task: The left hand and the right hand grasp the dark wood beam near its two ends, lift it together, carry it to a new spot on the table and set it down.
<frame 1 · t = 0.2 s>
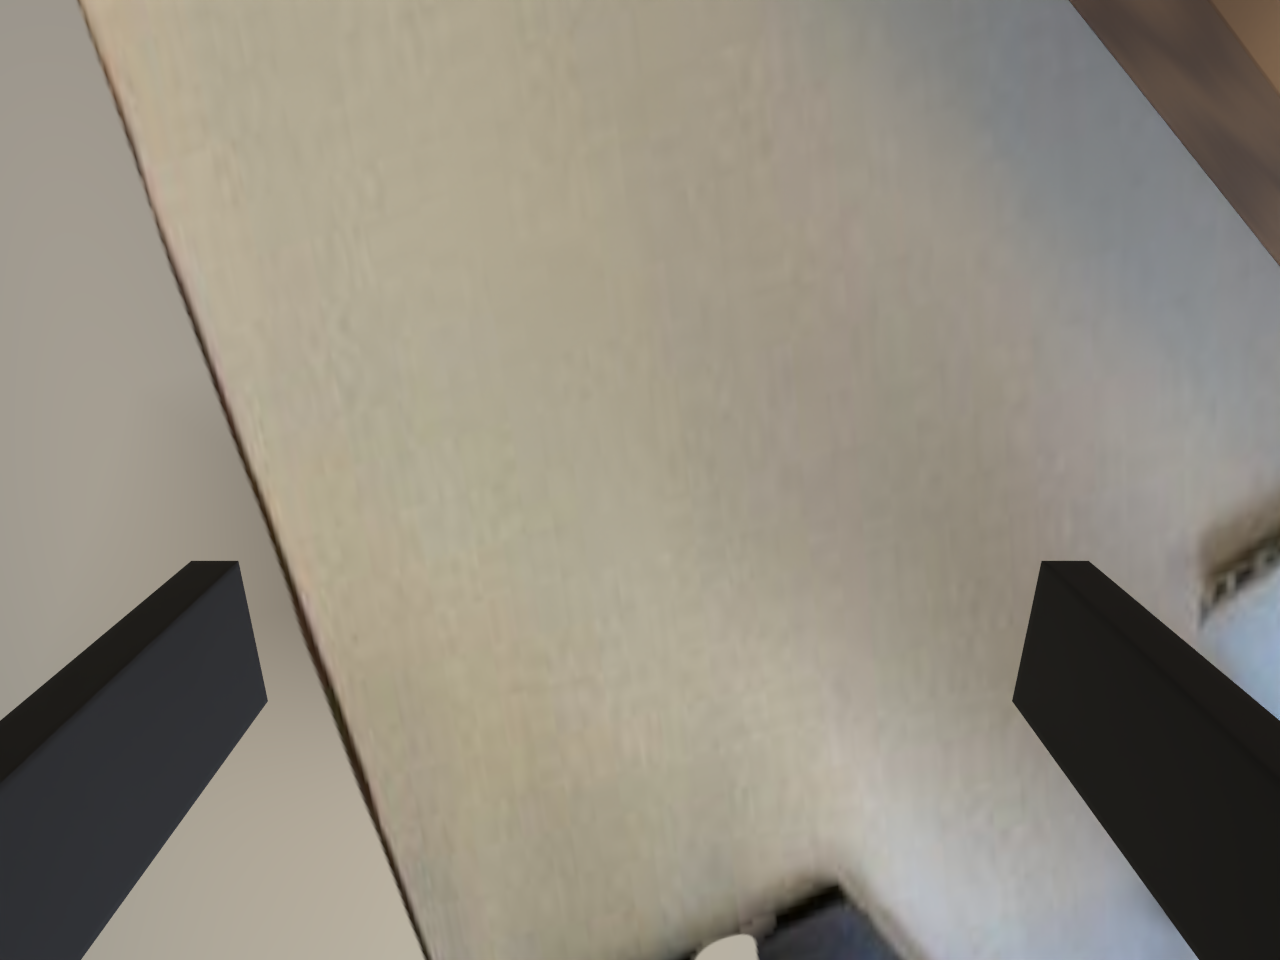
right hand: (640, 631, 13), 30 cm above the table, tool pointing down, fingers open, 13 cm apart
beam: (1260, 146, 37), on the table
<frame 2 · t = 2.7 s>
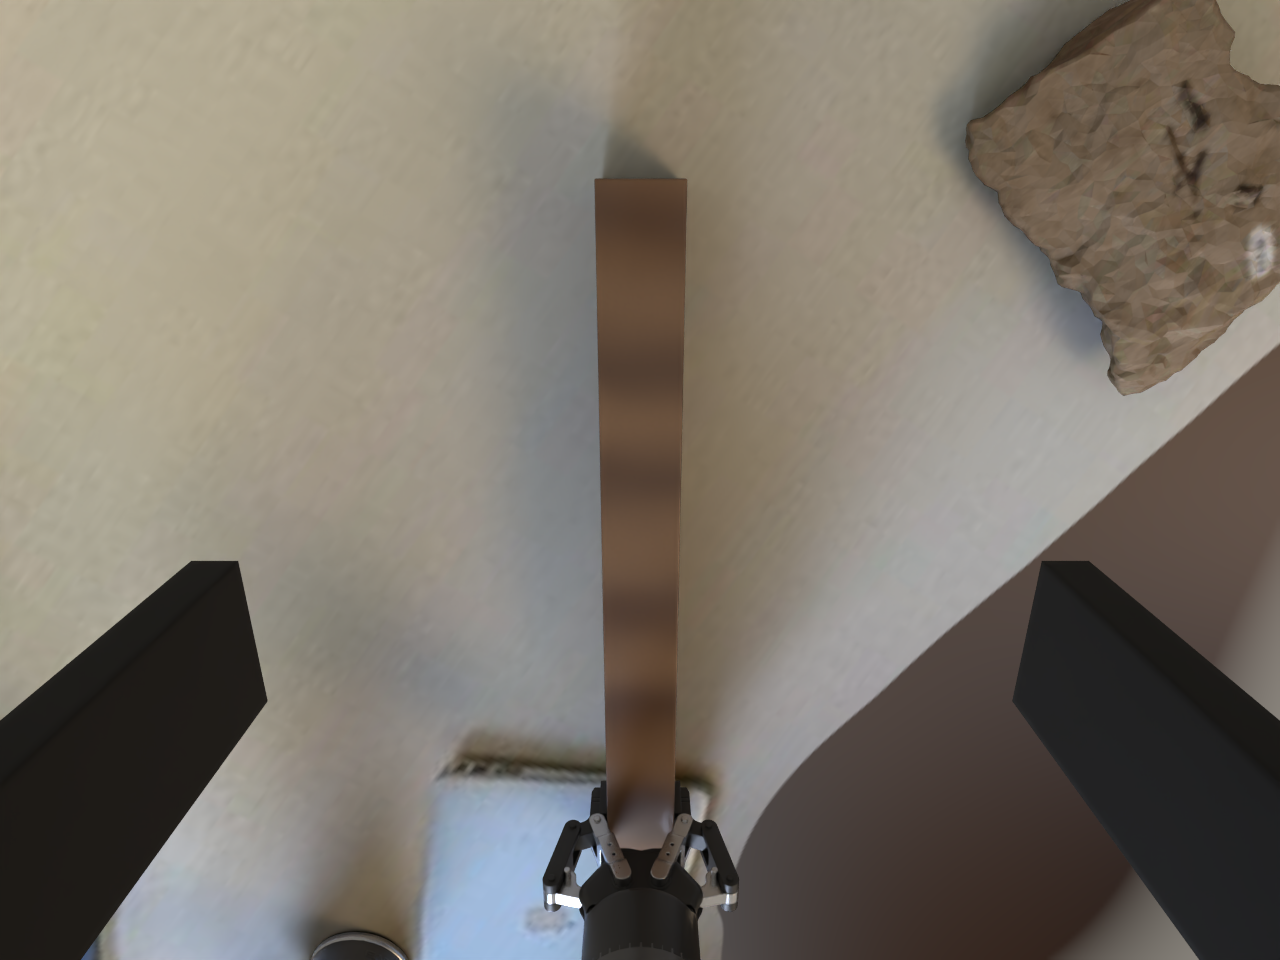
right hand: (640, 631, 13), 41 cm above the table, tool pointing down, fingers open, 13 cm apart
left hand: (640, 789, 62), fingers closed on beam, 5 cm apart
stone: (1119, 197, 49), on the table
beam: (640, 559, 58), on the table, touching left hand
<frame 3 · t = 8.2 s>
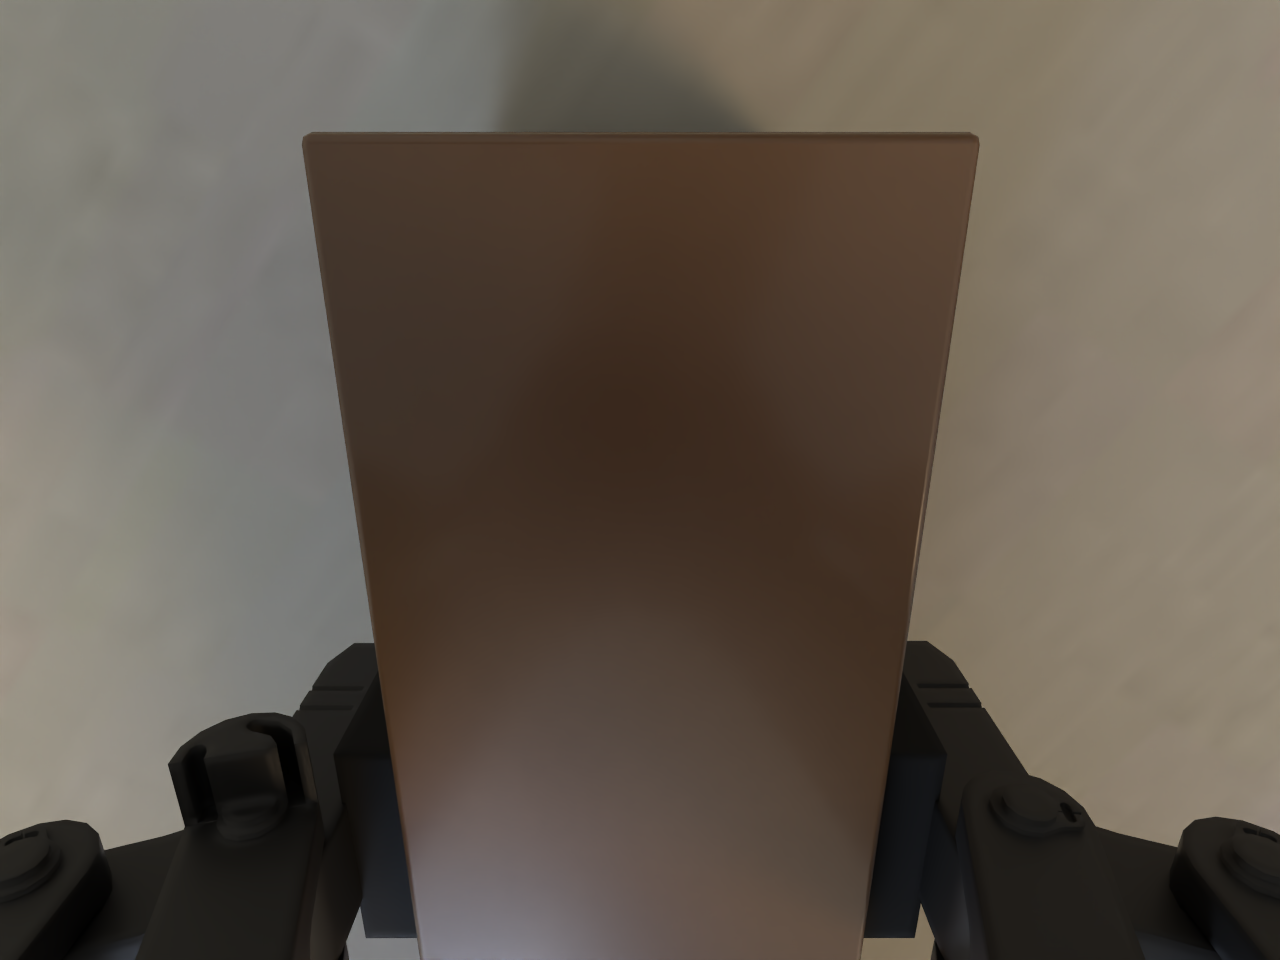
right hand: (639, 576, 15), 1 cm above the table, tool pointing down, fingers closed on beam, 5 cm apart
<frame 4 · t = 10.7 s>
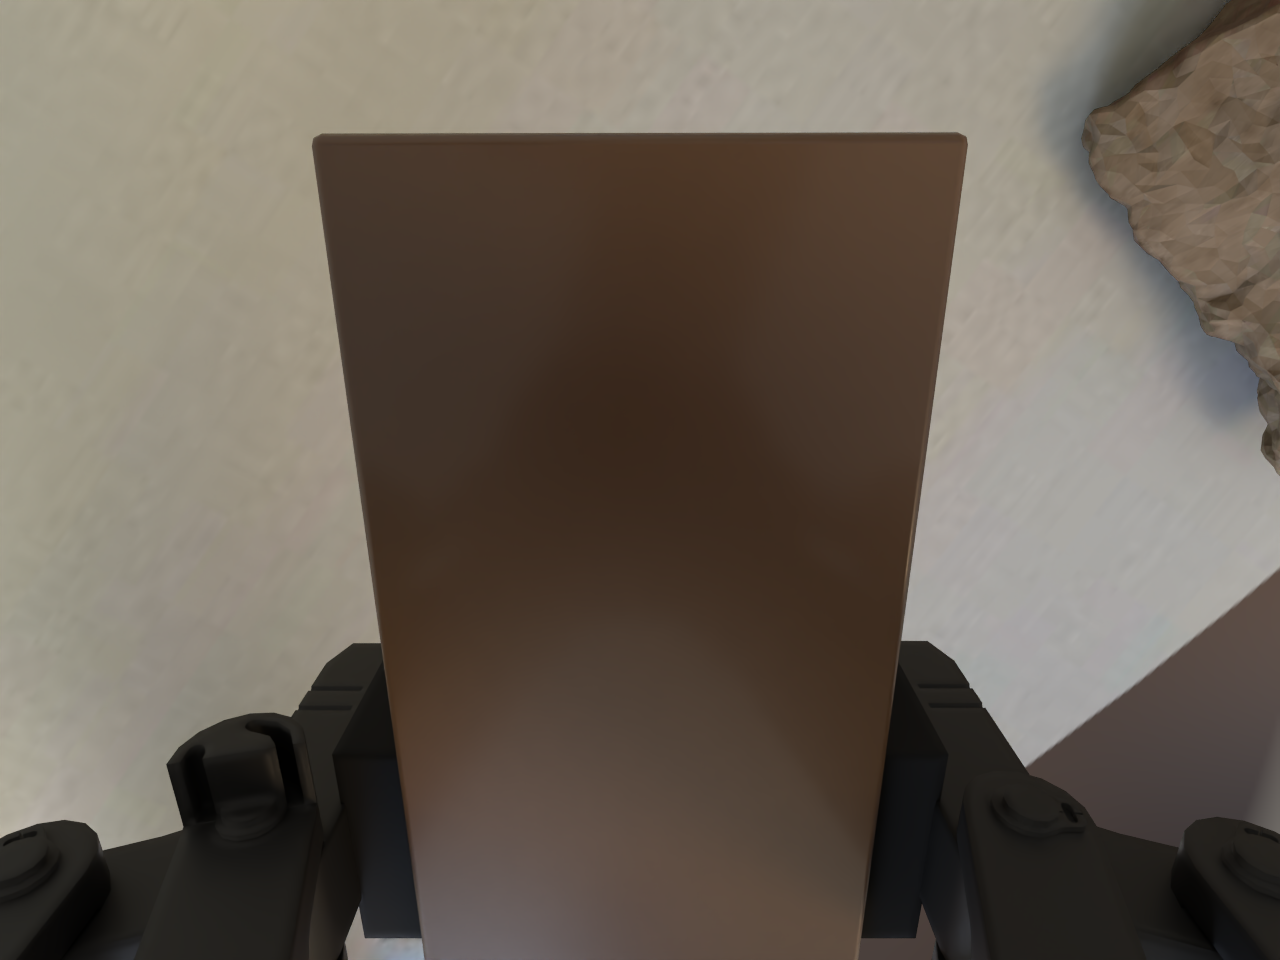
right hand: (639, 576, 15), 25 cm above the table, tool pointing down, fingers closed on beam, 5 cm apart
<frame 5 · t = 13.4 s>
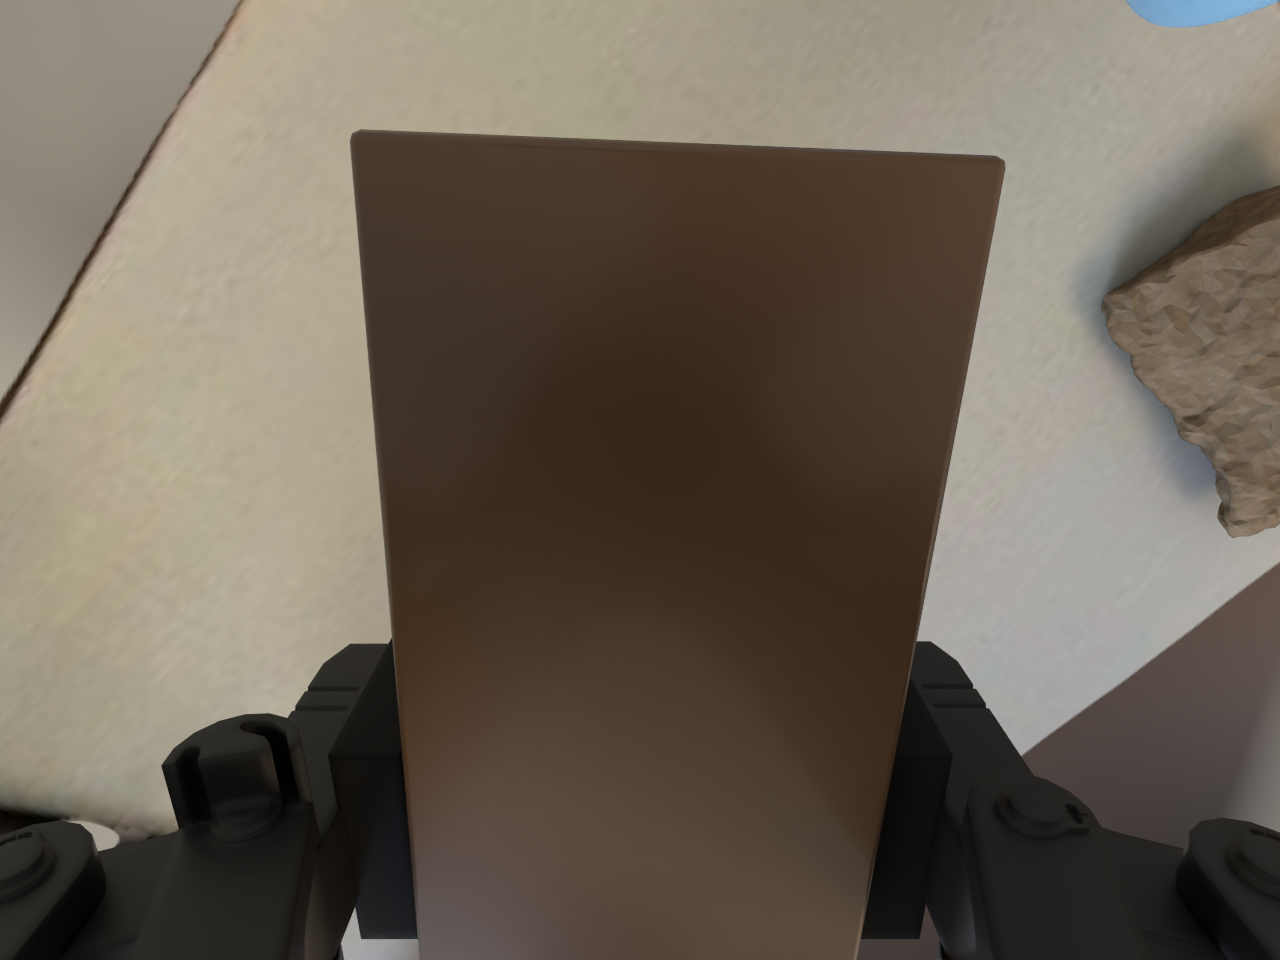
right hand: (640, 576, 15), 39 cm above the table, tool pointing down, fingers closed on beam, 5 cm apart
stone: (1237, 358, 52), on the table
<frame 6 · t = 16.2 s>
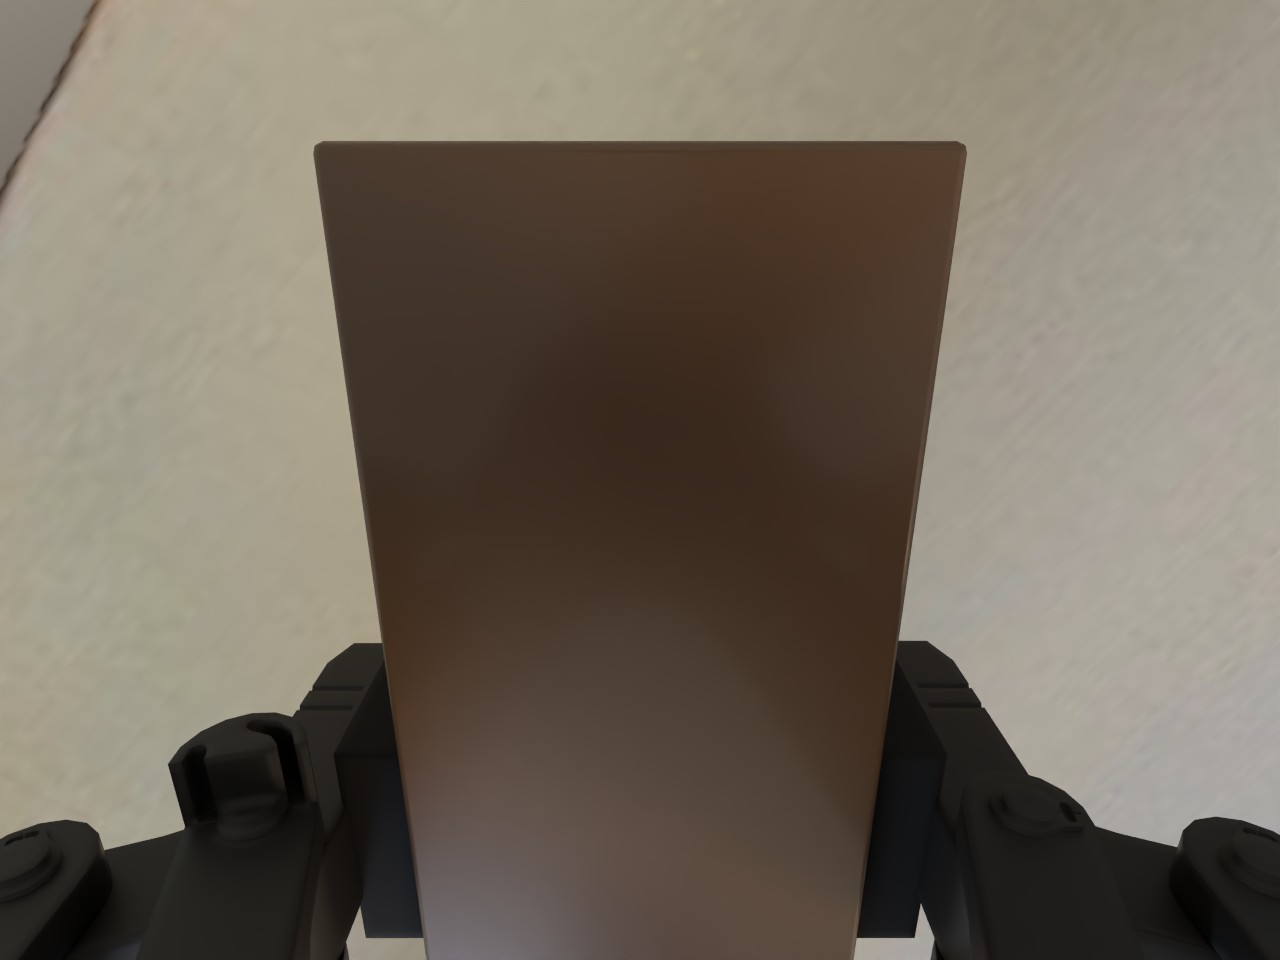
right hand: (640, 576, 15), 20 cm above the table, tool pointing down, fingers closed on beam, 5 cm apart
when the right hand's fingers open (2 cm above the table, at t = 18.6 s): beam drops 1 cm, on the table.
when the left hand's fingers open (4 cm above the table, at t = 18.8 s): beam stays where it is, on the table.
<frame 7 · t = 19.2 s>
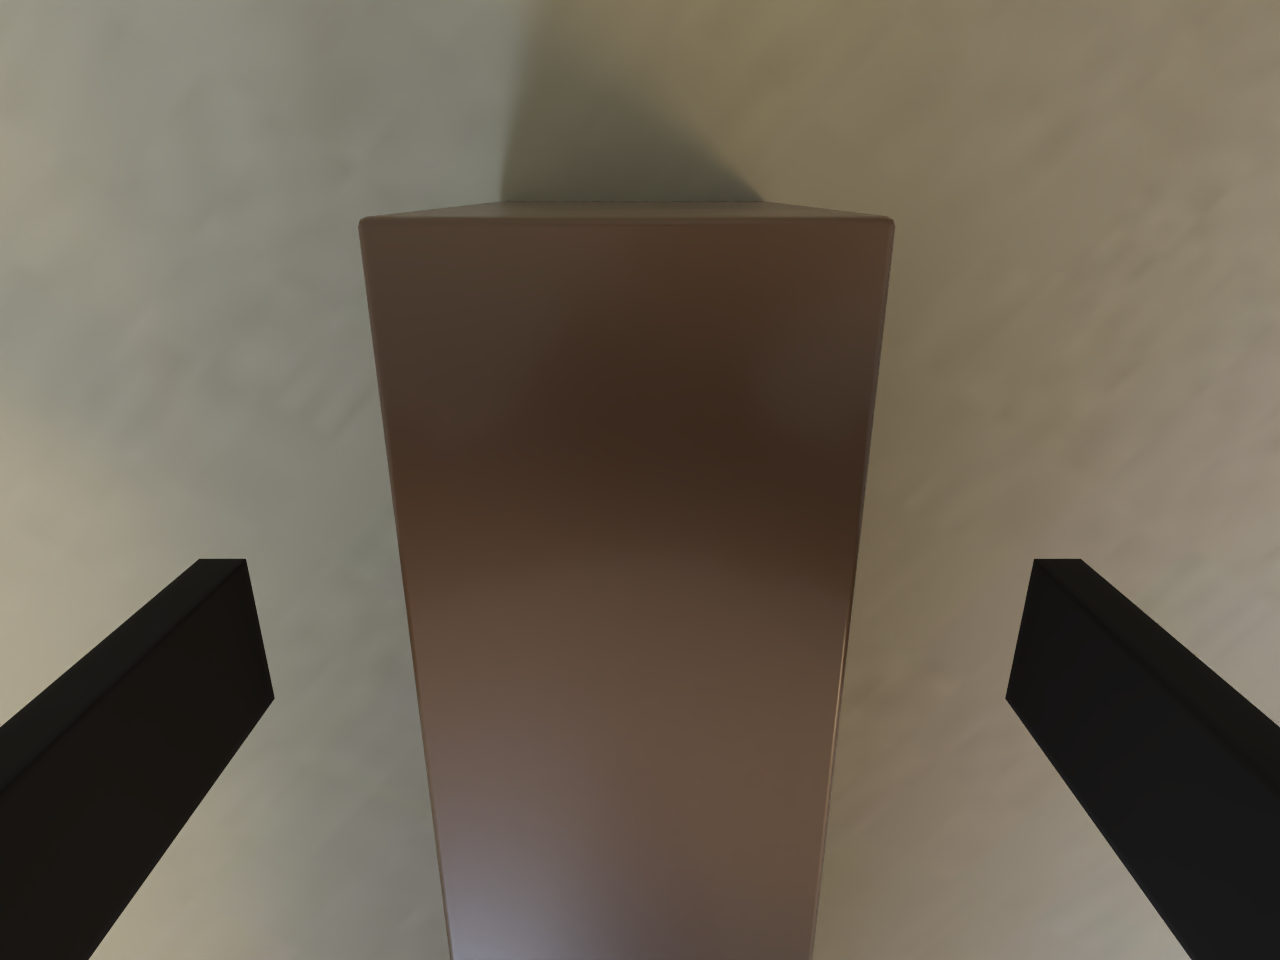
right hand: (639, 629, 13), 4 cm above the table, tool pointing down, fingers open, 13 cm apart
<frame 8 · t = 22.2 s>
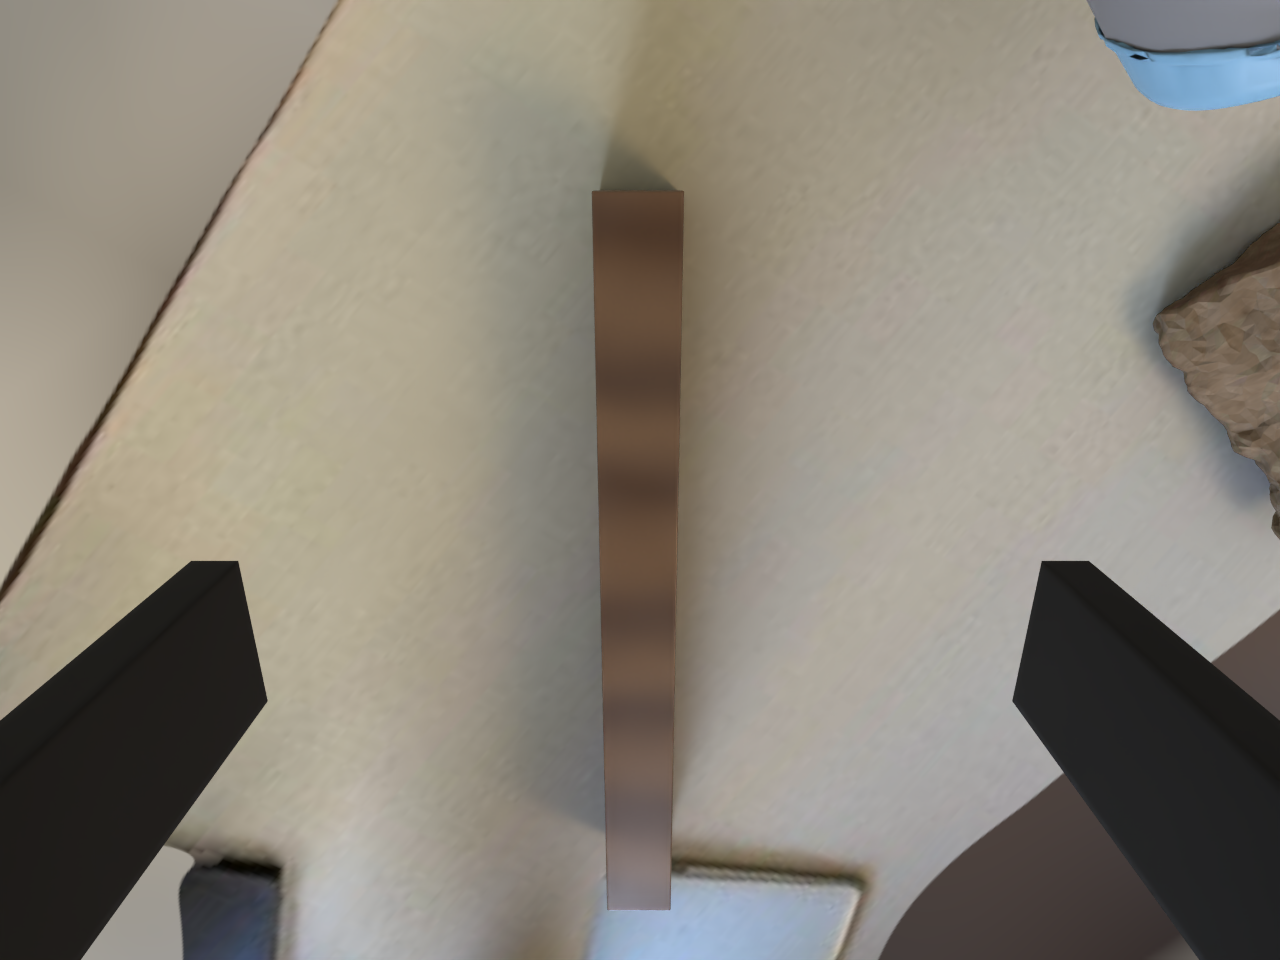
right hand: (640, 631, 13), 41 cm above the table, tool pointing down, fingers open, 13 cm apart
beam: (638, 566, 58), on the table
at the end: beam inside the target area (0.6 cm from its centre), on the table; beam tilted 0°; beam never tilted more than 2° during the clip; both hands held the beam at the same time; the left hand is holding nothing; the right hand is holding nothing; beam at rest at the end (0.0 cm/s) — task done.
